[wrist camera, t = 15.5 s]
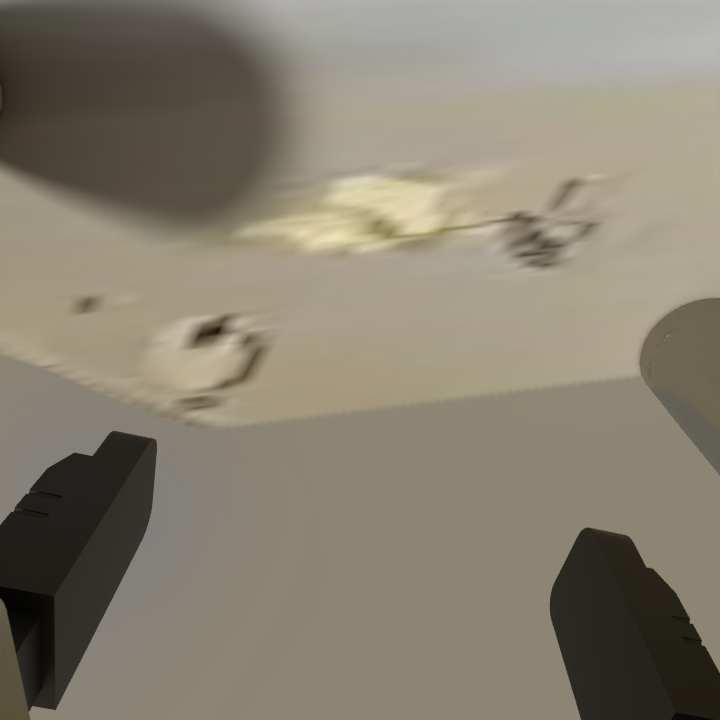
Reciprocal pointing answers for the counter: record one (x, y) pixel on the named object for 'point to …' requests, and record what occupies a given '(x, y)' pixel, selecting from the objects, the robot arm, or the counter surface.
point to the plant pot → (0, 97)
